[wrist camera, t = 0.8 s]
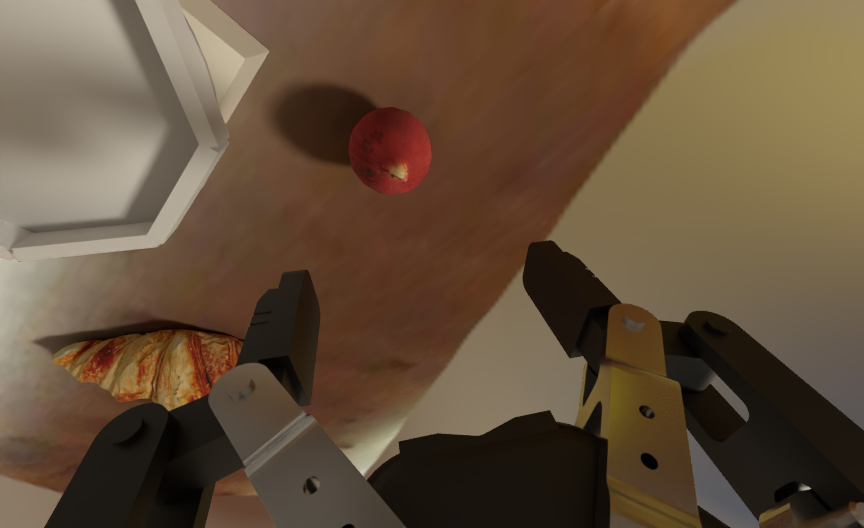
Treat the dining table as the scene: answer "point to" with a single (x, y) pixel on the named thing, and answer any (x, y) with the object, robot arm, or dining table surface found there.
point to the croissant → (153, 364)
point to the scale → (112, 119)
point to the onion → (390, 150)
